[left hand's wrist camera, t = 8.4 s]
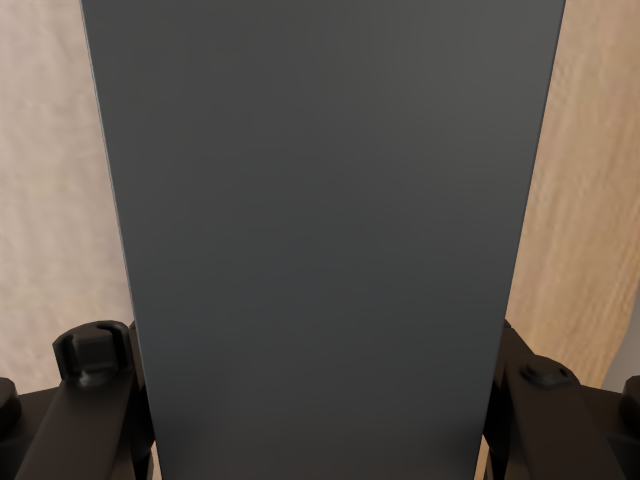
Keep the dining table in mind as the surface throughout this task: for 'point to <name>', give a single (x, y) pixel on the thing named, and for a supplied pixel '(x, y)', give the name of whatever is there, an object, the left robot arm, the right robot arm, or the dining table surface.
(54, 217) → the dining table surface
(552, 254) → the dining table surface
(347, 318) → the plank
